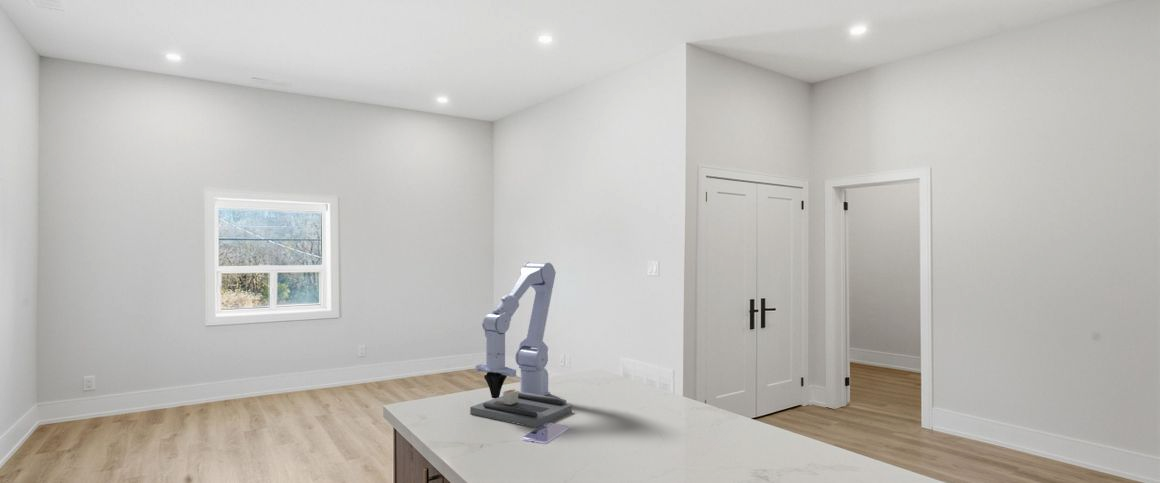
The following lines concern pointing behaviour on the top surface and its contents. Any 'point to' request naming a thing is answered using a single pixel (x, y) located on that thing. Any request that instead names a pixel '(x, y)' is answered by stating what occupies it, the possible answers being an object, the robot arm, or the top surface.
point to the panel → (543, 409)
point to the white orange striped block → (510, 397)
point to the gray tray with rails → (529, 397)
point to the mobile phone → (545, 433)
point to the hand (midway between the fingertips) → (495, 397)
